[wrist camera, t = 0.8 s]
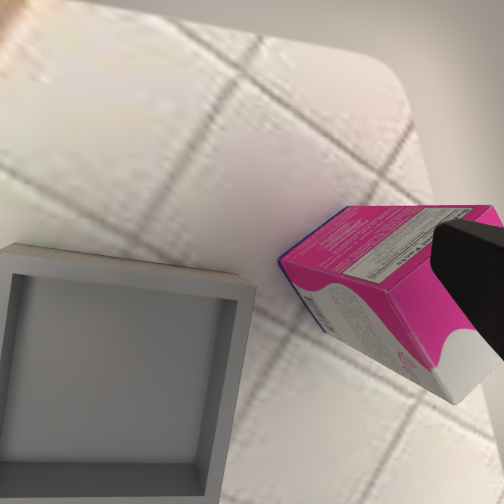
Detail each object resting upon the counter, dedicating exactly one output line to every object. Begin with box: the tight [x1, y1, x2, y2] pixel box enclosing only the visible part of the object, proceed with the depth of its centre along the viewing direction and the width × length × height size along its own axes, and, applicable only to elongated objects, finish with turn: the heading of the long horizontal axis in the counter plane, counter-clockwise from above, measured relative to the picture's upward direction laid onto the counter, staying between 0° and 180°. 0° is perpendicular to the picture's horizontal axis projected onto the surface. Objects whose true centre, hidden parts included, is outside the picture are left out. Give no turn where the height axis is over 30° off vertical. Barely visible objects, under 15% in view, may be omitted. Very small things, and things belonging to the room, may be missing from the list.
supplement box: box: [277, 205, 504, 405], centre depth 23 cm, size 6×6×12 cm
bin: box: [0, 243, 256, 504], centre depth 23 cm, size 12×12×4 cm
